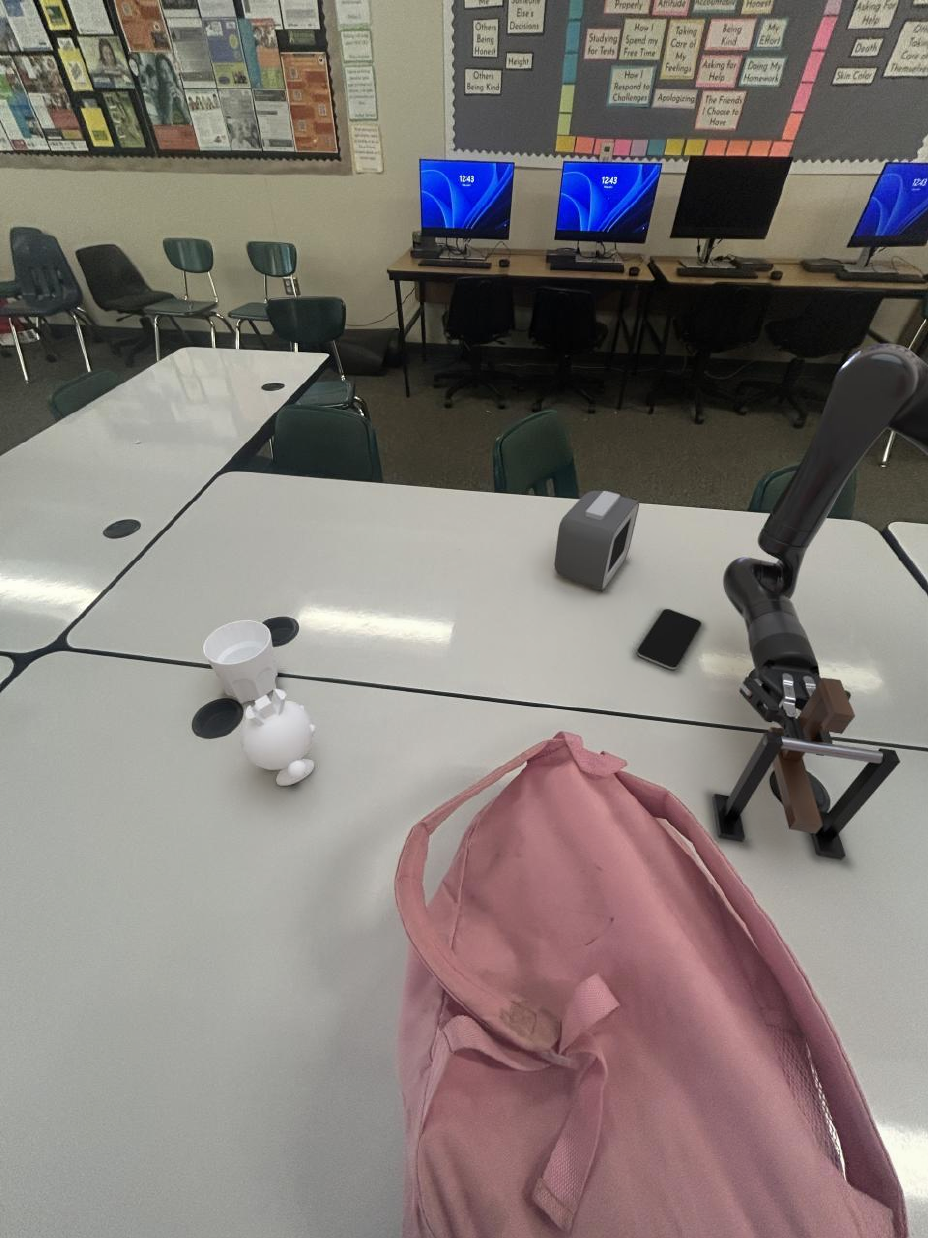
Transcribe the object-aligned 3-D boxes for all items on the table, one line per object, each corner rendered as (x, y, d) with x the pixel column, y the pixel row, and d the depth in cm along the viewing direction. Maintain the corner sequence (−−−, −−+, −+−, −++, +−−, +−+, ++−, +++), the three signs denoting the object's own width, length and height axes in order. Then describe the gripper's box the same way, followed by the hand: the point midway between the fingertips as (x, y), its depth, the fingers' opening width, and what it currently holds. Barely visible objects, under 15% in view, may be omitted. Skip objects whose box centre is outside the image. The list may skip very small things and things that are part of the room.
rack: (828, 816, 76) (894, 735, 64) (842, 859, 71) (915, 780, 60) (712, 797, 78) (755, 715, 66) (718, 837, 73) (765, 757, 62)
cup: (296, 678, 95) (284, 635, 88) (248, 717, 89) (231, 673, 82) (256, 655, 99) (242, 612, 93) (208, 690, 93) (189, 647, 86)
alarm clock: (600, 596, 112) (613, 528, 101) (548, 578, 116) (556, 512, 106) (627, 556, 122) (642, 491, 112) (579, 541, 127) (589, 477, 116)
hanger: (788, 739, 77) (837, 661, 67) (815, 834, 67) (877, 758, 57) (765, 735, 77) (810, 657, 67) (788, 829, 67) (845, 753, 57)
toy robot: (343, 787, 79) (326, 720, 69) (278, 824, 75) (250, 759, 65) (300, 719, 88) (279, 651, 79) (239, 749, 84) (210, 681, 74)
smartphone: (703, 621, 105) (676, 669, 95) (702, 624, 105) (675, 671, 96) (664, 607, 108) (635, 652, 98) (663, 610, 108) (634, 654, 99)
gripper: (737, 624, 79) (761, 721, 66) (844, 637, 76) (890, 740, 64) (721, 662, 83) (740, 758, 71) (821, 675, 81) (860, 777, 69)
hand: (811, 749), depth 67 cm, fingers closed on hanger, 2 cm apart
